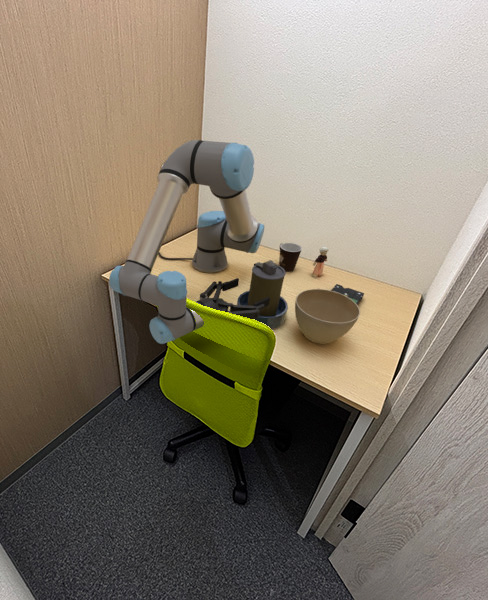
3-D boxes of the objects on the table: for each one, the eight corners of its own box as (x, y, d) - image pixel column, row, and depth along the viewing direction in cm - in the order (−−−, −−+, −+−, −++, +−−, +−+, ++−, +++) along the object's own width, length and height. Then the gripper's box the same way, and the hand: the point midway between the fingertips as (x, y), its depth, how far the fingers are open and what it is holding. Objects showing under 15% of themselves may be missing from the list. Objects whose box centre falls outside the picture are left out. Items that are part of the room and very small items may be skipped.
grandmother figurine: (316, 279, 136) (324, 251, 129) (308, 276, 138) (315, 248, 131) (326, 273, 140) (334, 245, 133) (317, 270, 143) (325, 242, 135)
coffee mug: (297, 274, 140) (302, 252, 134) (276, 272, 141) (280, 250, 135) (295, 261, 149) (300, 240, 143) (275, 259, 150) (279, 239, 145)
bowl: (229, 320, 114) (230, 308, 111) (244, 296, 126) (246, 285, 123) (278, 335, 107) (281, 323, 104) (289, 308, 119) (292, 297, 117)
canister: (282, 317, 115) (294, 265, 104) (260, 327, 110) (270, 274, 99) (260, 301, 122) (268, 252, 111) (238, 310, 118) (245, 260, 107)
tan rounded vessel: (357, 335, 107) (369, 304, 101) (332, 364, 97) (344, 331, 90) (305, 311, 118) (313, 282, 111) (277, 335, 107) (284, 304, 101)
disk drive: (334, 289, 130) (320, 306, 121) (336, 283, 129) (322, 299, 119) (362, 299, 125) (350, 317, 115) (364, 292, 123) (353, 310, 114)
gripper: (175, 303, 108) (225, 284, 118) (227, 347, 91) (280, 320, 101) (175, 283, 103) (227, 265, 113) (230, 325, 86) (285, 299, 96)
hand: (252, 291), depth 107 cm, fingers open, 13 cm apart
